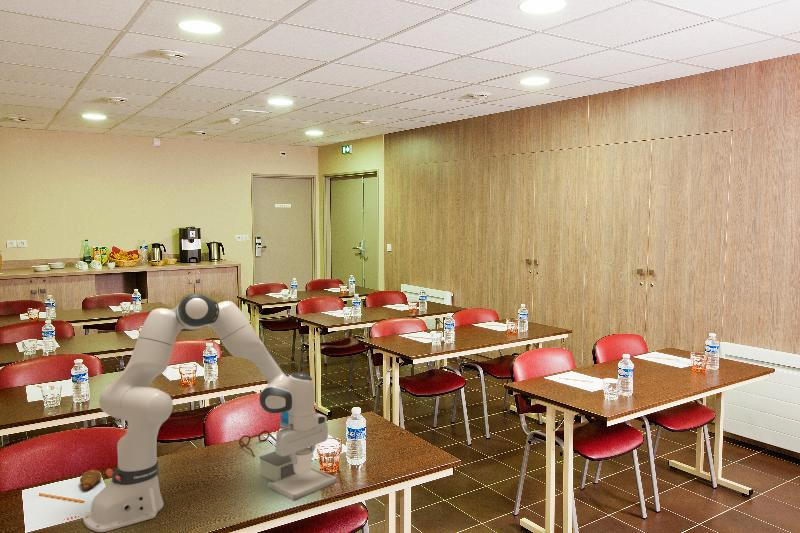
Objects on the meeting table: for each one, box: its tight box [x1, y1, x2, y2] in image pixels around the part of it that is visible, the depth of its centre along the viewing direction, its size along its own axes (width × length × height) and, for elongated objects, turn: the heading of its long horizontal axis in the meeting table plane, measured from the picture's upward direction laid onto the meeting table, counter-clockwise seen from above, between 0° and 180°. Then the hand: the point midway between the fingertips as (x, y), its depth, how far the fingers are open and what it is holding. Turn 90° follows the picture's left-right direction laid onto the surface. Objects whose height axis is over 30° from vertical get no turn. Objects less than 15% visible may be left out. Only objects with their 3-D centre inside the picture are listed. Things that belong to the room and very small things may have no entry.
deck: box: [258, 451, 337, 501], centre depth 206 cm, size 18×25×7 cm
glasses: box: [238, 430, 276, 458], centre depth 235 cm, size 13×13×5 cm
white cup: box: [293, 447, 312, 474], centre depth 202 cm, size 7×7×7 cm
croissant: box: [79, 469, 102, 492], centre depth 203 cm, size 14×7×5 cm, turn 14°
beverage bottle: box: [279, 411, 289, 428], centre depth 233 cm, size 8×8×20 cm
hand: (302, 460), depth 202 cm, fingers closed on white cup, 5 cm apart
